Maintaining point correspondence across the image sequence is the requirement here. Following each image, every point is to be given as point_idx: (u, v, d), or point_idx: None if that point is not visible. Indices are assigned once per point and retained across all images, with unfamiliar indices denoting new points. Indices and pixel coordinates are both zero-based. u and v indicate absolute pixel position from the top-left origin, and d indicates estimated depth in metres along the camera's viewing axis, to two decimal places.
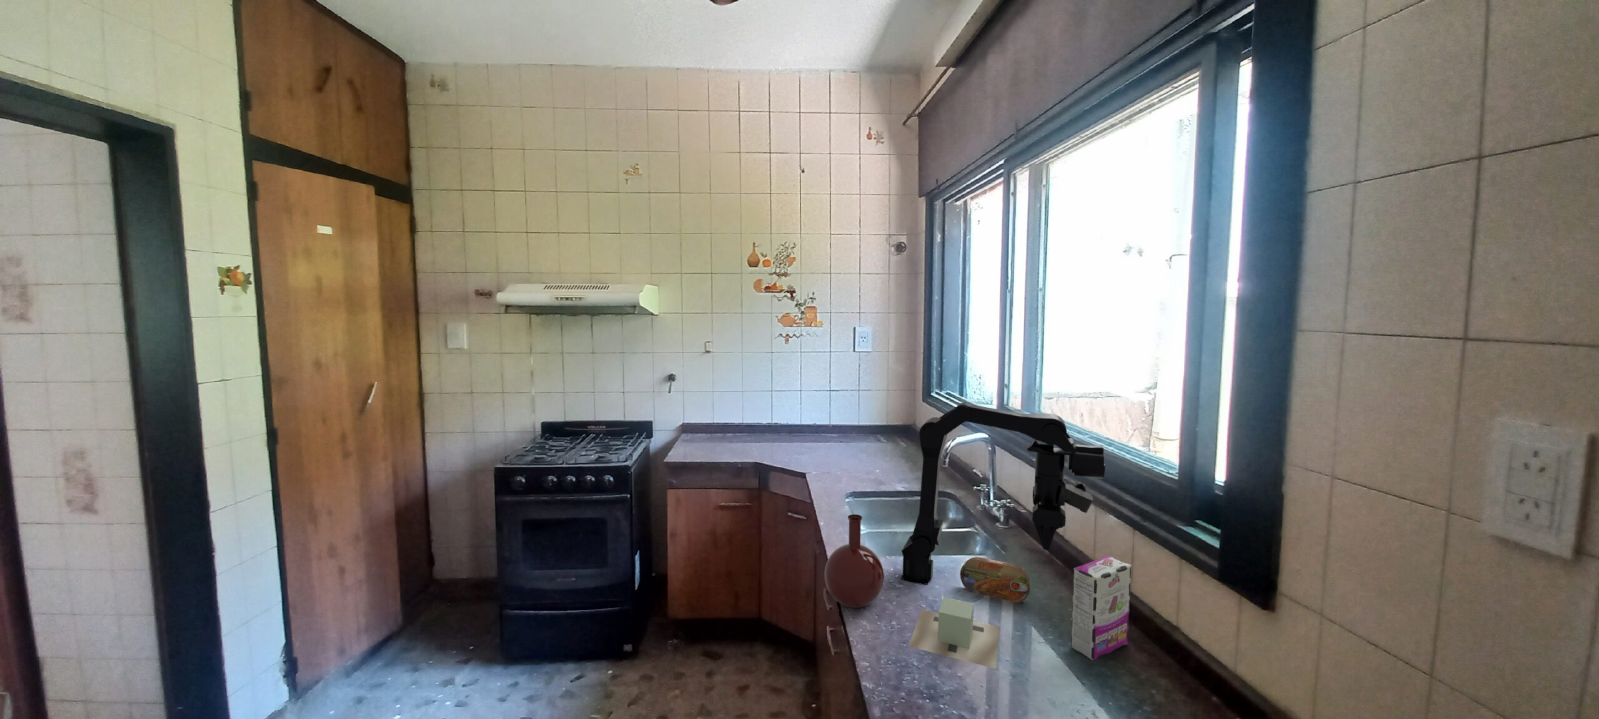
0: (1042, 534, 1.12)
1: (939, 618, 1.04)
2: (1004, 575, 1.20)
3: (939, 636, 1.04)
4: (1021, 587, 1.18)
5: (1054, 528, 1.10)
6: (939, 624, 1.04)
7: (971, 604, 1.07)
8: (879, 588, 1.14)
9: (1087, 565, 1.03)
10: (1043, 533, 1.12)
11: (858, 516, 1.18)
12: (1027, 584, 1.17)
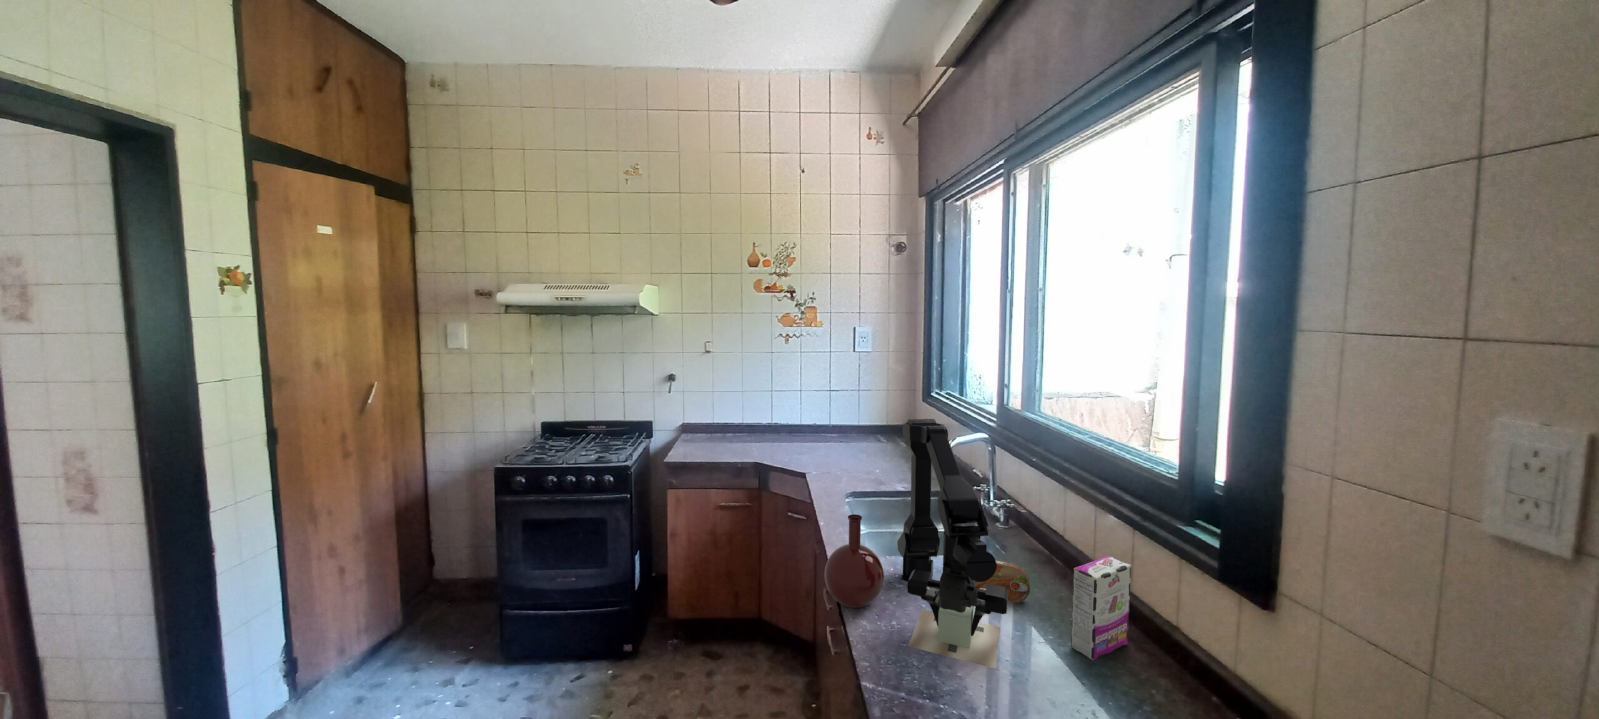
0: None
1: (939, 618, 1.04)
2: (1004, 575, 1.20)
3: (939, 636, 1.04)
4: (1020, 587, 1.18)
5: None
6: (939, 624, 1.04)
7: None
8: (879, 588, 1.14)
9: (1087, 565, 1.03)
10: None
11: (858, 516, 1.18)
12: (1027, 584, 1.17)
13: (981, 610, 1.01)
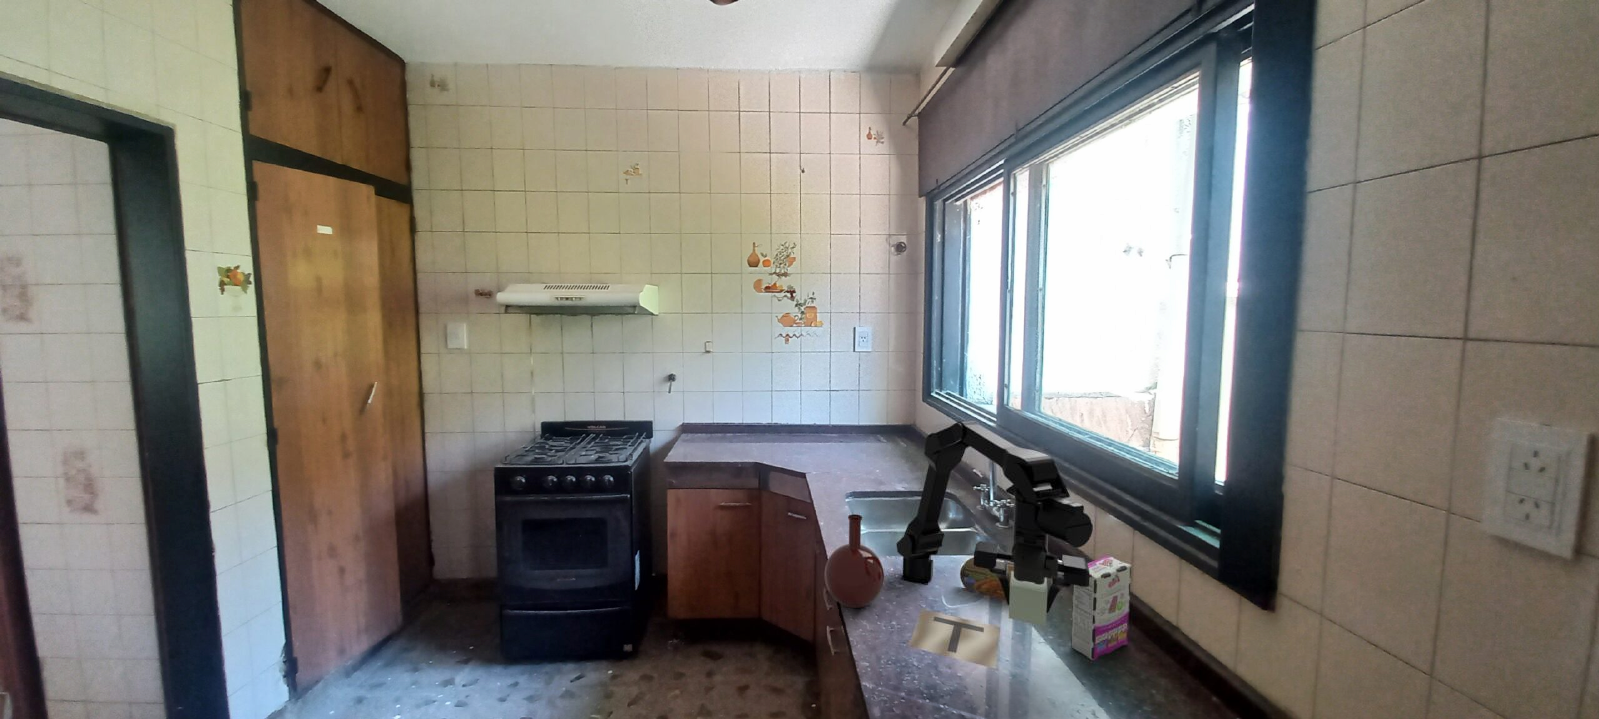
0: None
1: (1011, 593, 0.94)
2: None
3: (1010, 613, 0.94)
4: None
5: None
6: (1010, 600, 0.94)
7: None
8: (879, 588, 1.14)
9: None
10: None
11: (858, 516, 1.18)
12: None
13: (1059, 583, 0.91)
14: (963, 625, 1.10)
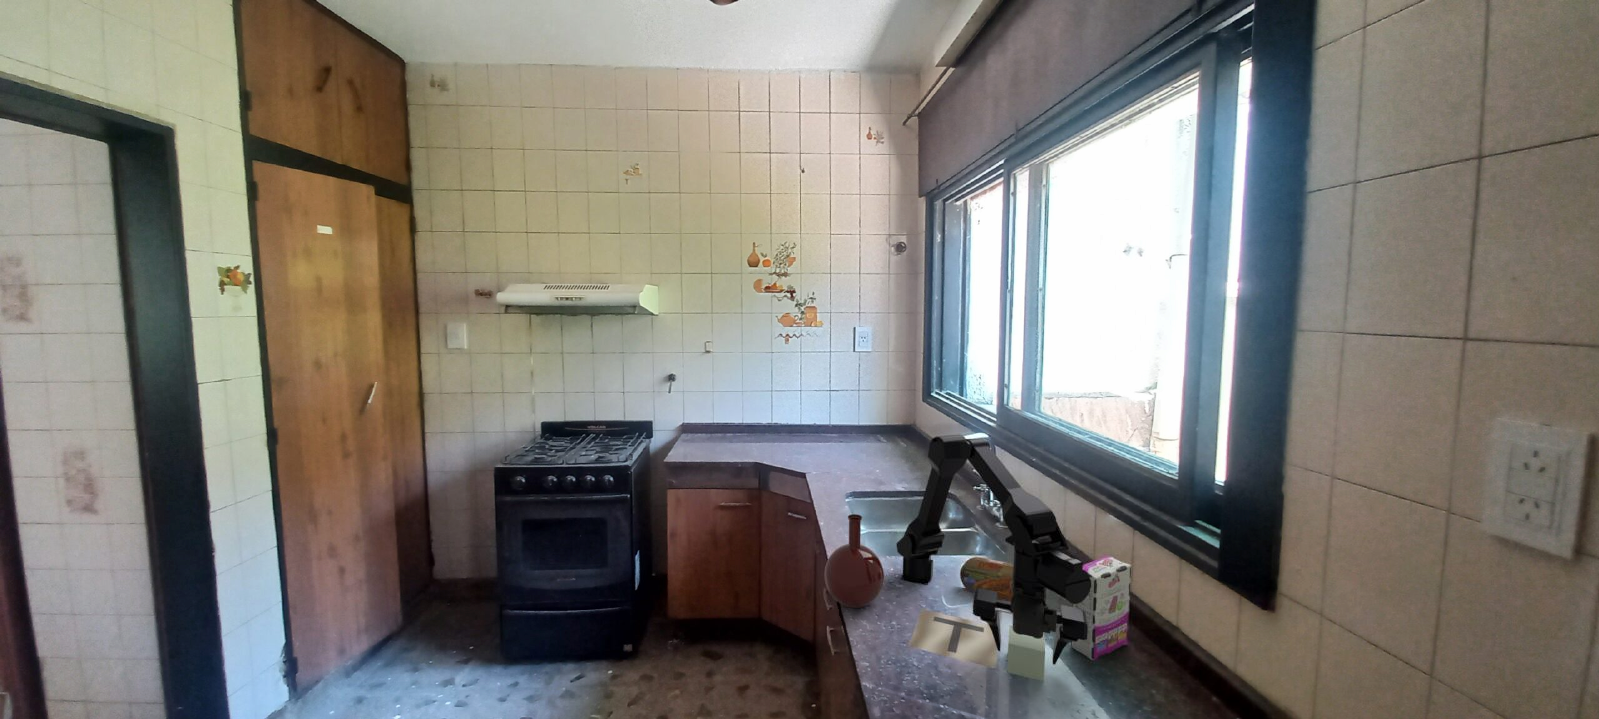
0: None
1: (1009, 650, 0.95)
2: (1004, 575, 1.20)
3: (1009, 670, 0.95)
4: None
5: None
6: (1009, 657, 0.95)
7: None
8: (879, 588, 1.14)
9: (1087, 565, 1.03)
10: None
11: (858, 516, 1.18)
12: None
13: (1067, 637, 0.91)
14: (963, 625, 1.10)
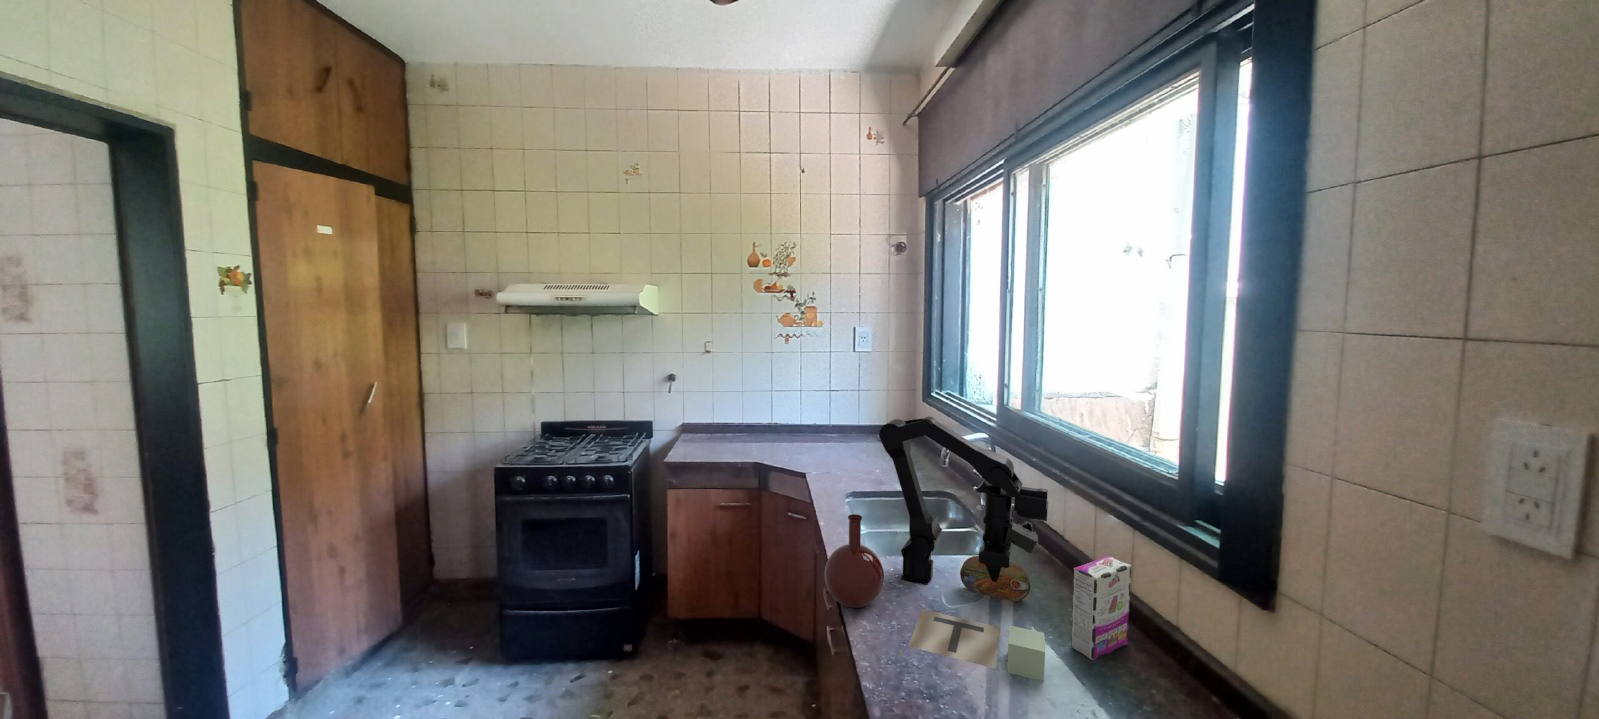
0: (990, 567, 1.19)
1: (1009, 650, 0.95)
2: (1004, 574, 1.20)
3: (1009, 670, 0.95)
4: (1021, 586, 1.18)
5: None
6: (1009, 657, 0.95)
7: (1042, 634, 0.98)
8: (879, 588, 1.14)
9: (1087, 565, 1.03)
10: (991, 566, 1.19)
11: (858, 516, 1.18)
12: (1027, 583, 1.18)
13: (1009, 546, 1.23)
14: (963, 625, 1.10)
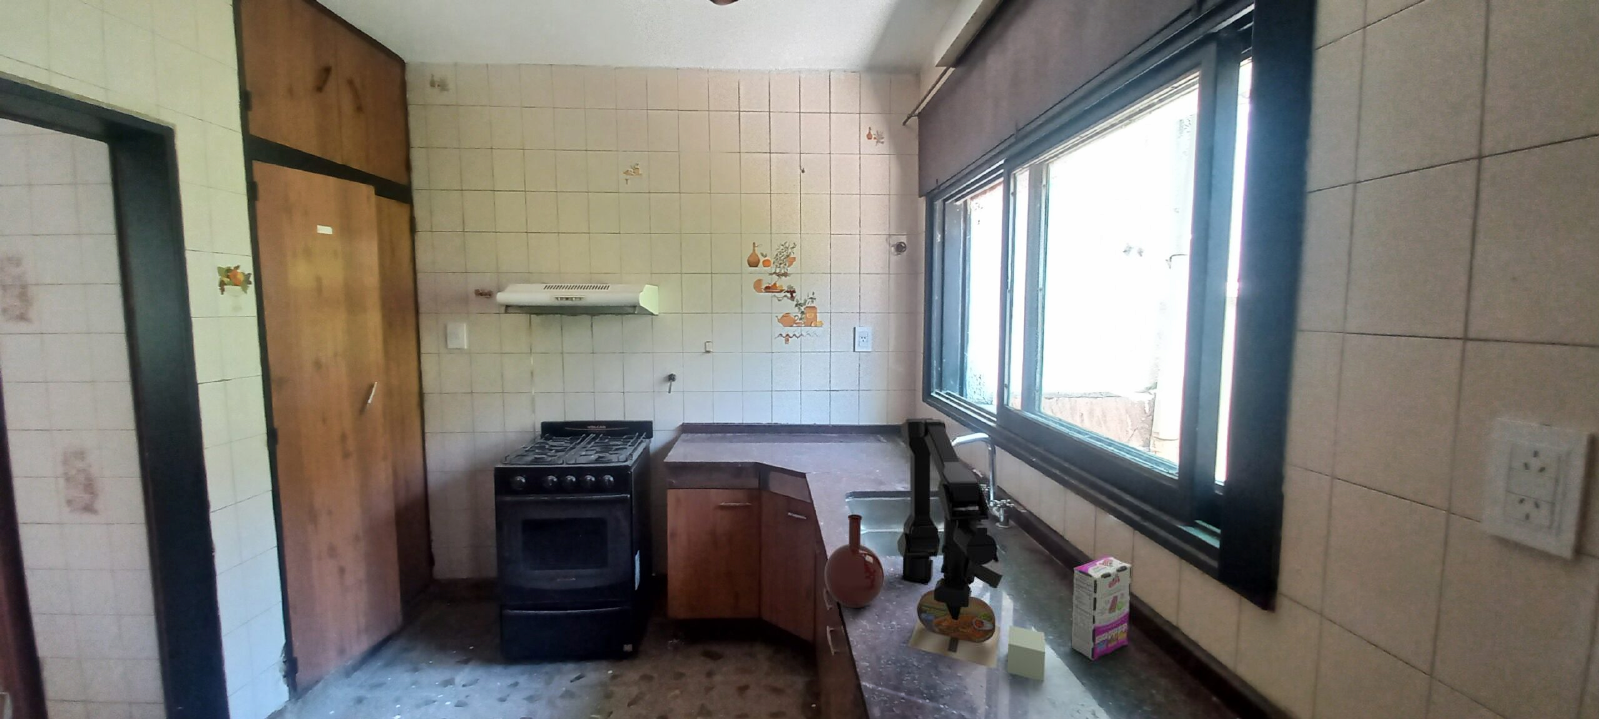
0: (949, 603, 1.03)
1: (1009, 650, 0.95)
2: (966, 612, 1.04)
3: (1009, 670, 0.95)
4: (985, 625, 1.03)
5: None
6: (1009, 657, 0.95)
7: (1042, 634, 0.98)
8: (879, 588, 1.14)
9: (1087, 565, 1.03)
10: None
11: (858, 516, 1.18)
12: (992, 622, 1.02)
13: (972, 577, 1.07)
14: None
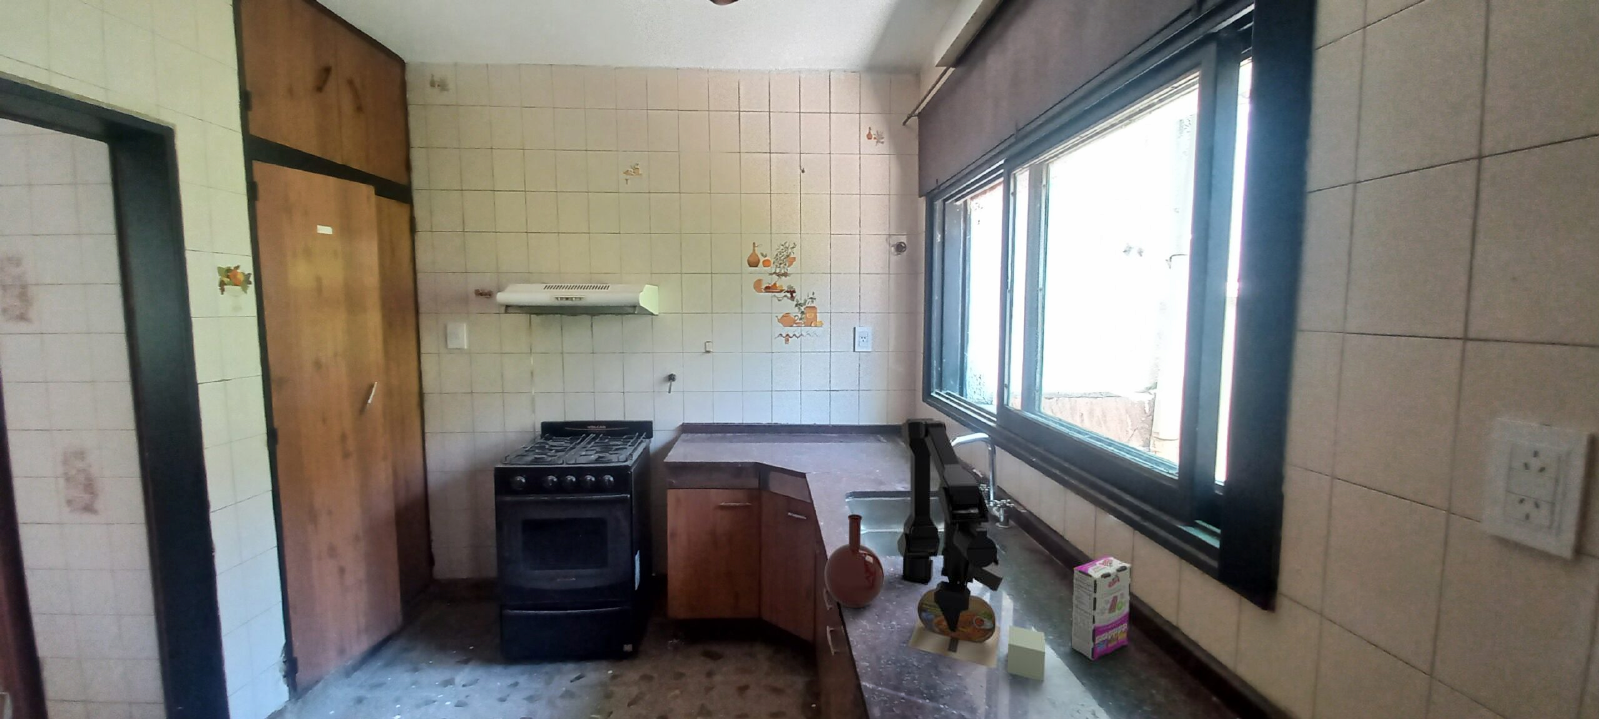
0: (947, 615, 1.00)
1: (1009, 650, 0.95)
2: (967, 610, 1.05)
3: (1009, 670, 0.95)
4: (985, 624, 1.03)
5: (959, 609, 0.99)
6: (1009, 657, 0.95)
7: (1042, 634, 0.98)
8: (879, 588, 1.14)
9: (1087, 565, 1.03)
10: (948, 614, 1.00)
11: (858, 516, 1.18)
12: (992, 620, 1.03)
13: None
14: None
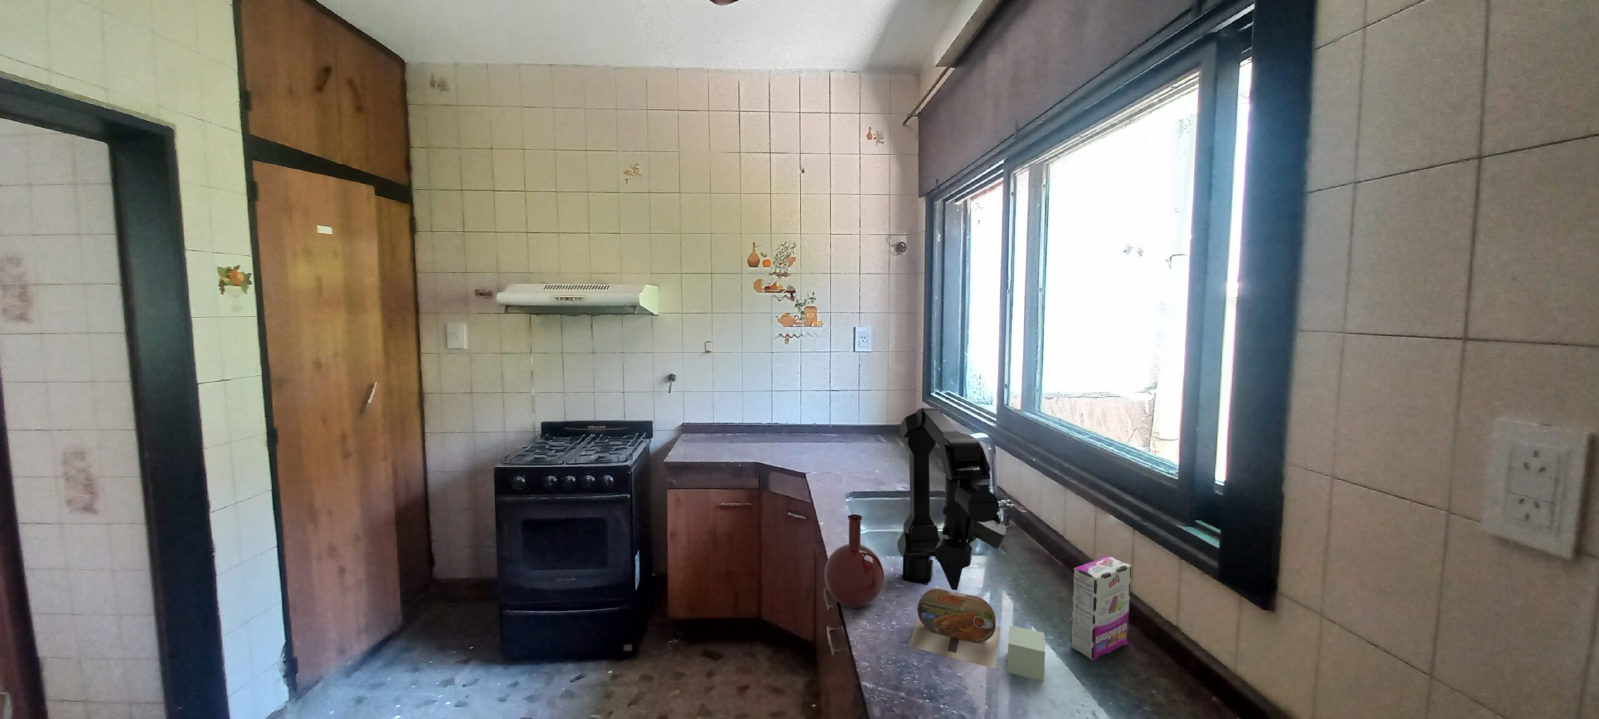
0: (948, 573, 1.00)
1: (1009, 650, 0.95)
2: (967, 610, 1.05)
3: (1009, 670, 0.95)
4: (985, 624, 1.03)
5: (960, 566, 0.98)
6: (1009, 657, 0.95)
7: (1042, 634, 0.98)
8: (879, 588, 1.14)
9: (1087, 565, 1.03)
10: (949, 572, 0.99)
11: (858, 516, 1.18)
12: (992, 620, 1.03)
13: None
14: None
